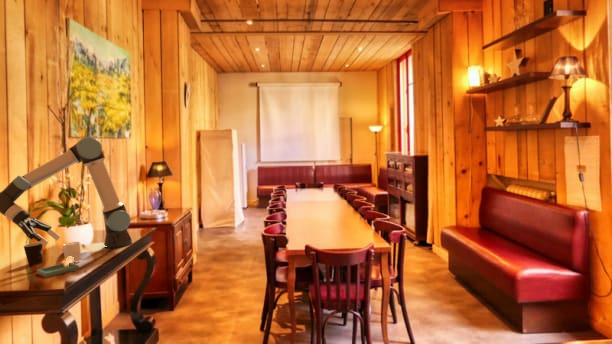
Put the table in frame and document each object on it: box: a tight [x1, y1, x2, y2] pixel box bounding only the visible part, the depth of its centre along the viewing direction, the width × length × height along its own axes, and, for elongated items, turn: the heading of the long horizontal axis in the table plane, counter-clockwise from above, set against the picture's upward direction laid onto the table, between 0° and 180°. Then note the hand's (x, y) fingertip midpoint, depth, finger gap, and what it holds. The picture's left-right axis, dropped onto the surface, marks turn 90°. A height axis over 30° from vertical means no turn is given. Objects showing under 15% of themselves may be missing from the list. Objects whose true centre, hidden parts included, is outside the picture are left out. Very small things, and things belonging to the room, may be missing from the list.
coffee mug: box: [23, 242, 44, 266], centre depth 246 cm, size 12×9×10 cm
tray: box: [36, 262, 80, 279], centre depth 220 cm, size 14×14×2 cm
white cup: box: [62, 241, 82, 261], centre depth 236 cm, size 8×8×10 cm
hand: (53, 241), depth 234 cm, fingers open, 13 cm apart
